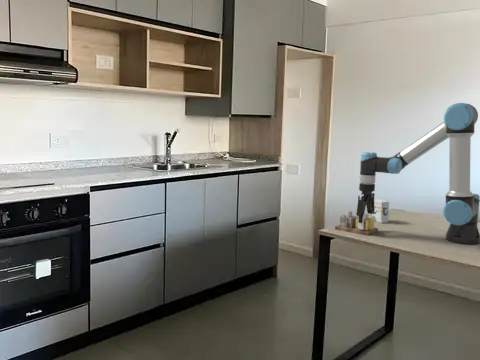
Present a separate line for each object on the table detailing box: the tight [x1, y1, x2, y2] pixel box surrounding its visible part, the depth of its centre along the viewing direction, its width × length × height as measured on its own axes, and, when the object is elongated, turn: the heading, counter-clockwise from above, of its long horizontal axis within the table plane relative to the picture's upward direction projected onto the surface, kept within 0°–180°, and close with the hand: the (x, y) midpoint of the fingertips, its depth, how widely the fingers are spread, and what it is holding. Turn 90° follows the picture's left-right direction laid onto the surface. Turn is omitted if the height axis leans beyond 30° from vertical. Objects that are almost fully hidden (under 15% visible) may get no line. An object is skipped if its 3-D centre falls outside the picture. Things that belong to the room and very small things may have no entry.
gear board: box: [334, 210, 379, 236], centre depth 254 cm, size 18×12×9 cm, turn 50°
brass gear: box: [355, 216, 375, 230], centre depth 251 cm, size 8×8×5 cm
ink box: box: [372, 198, 390, 224], centre depth 276 cm, size 9×5×12 cm, turn 21°
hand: (364, 227), depth 251 cm, fingers closed on brass gear, 8 cm apart
